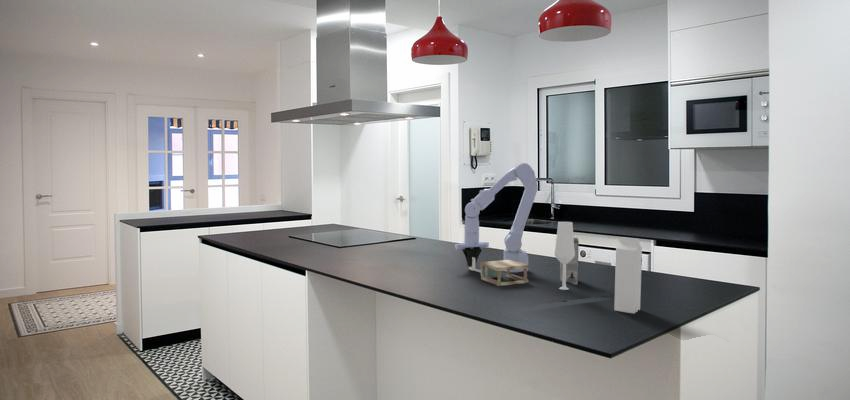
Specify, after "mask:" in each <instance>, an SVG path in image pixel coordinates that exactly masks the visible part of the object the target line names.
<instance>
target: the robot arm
mask: <svg viewBox="0 0 850 400" xmlns="http://www.w3.org/2000/svg"><path fill="white" fill-rule="evenodd" d="M518 180H520V182H521V185H522V186H523V187H524V190H523V194H522V197H521V199H520V203H519V205H518V208H517V211H516V213H515V218H514V220H513V223H512V225H511V228H510V230H509V232H508V233H507V234H506V235H505V237H504V239H503V240H504V245H505V248H504V249H503V260H513V261H516V262H520V263H524V264H527V265H529V255H528V253H527V251H526V250H522V249H521V248H522V245H523V242H522V238H523V234H524V229H525V226H526V224H527V221H528V219H529V215H530V212H531V209H532V207H533V204H534V201H535V198H536V195H537V192H538V189H539V186H538V181H537V178H536V175H535V171H534V169H533V167H531V165H529V164H528V163H525V162H520V163H518V164H516V165H515V167H513V168H511V169H510V170H508V171H506V172H505V173H504V174H503V175H502V176H501V177H500V178H499V179H498V180H497V181H496V182H495V183H494V184H493V185H491V187H490V188H484V189H480V190H479V193H478V194H477V195H476V196H475V197H474V198H471V199H470V201H471V202H468V203H467V204H466V205H465V207H464V213H465V216H464V219H465V220H464V242H462V243H455V244H454V249H455V250H456V251H457V250H459V251H460V250H461V251H462V253H463V254H464V257H465V260H466V264H467V267H468V268H469V267H472V257H474V258H475V267H476V266H477V262H478V259H479V257H480V254H481V253H482V249H483V248H487V249H488V248H489V247H490V246H489V242H487V241H481V242H480V220H479V215H480V211H483V210H485V209H486V208H487V207H488V206H489V205H490V204H491V203H492V202H493V201H495V197H496V195H497V193H499V192H500V190H502V189H503V188H504V187H506V186H507V185H508V184H509V183H511V182H514V181H518ZM528 271H529V268H527V272H528ZM504 272H506V273H507V270H505V271H504ZM522 272H524V269H515V270H510V273H522Z"/></svg>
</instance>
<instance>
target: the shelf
mask: <svg viewBox="0 0 850 400" xmlns="http://www.w3.org/2000/svg"><path fill="white" fill-rule="evenodd" d="M479 266H480V267H481V266H482V276H481V275H480V279H481V280H482V281H485V282H488V283H490V284H493V285H495V286H496V287H500V286H501V287H503V286H510V285H519V284H528V283H529V279H528V271H527V268H528V269H529V268H530V267H529V264H528V265H527V264H524V263H520V262H516V261H513V260H504V259H502V260H491V261H490V260H489V261H480V263H479ZM485 267H487V268H490V269H493V270H496V271H498V277H497V279H495V278H489V277H486V276H485ZM515 269H524V271H523V274H522V275H523V276H520V275H515V274H514V273H511V272H510V270H515ZM505 270H507V272H506V274H505V276H506V277H505V278H508V279H511V280H512V281H502V271H503V272H505Z"/></svg>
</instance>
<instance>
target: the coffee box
mask: <svg viewBox="0 0 850 400" xmlns="http://www.w3.org/2000/svg"><path fill="white" fill-rule="evenodd" d="M579 244H580V243H579V239H578V237H574V251H575V256H574V258H573V259H572V260H571V261H570V262H569V263H567V264H566V283H569V284H572V285H577V286H578V283H579V279H578V278H579V247H580V246H579ZM562 277H563V264H562V263H561V262H560V261H559V280H560V282H562Z"/></svg>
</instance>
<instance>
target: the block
mask: <svg viewBox="0 0 850 400" xmlns="http://www.w3.org/2000/svg"><path fill="white" fill-rule="evenodd" d="M468 270H470V271H472V272H473V271H474V272H478V273H480V277H481V276H482V266H480V269H477V268H476V266H475V258H474V257H472V267H469V266H468ZM485 276H486V277H489V278H492V279H495V278H498V271H496V270H493V269H490V268H487V267H485Z"/></svg>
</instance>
